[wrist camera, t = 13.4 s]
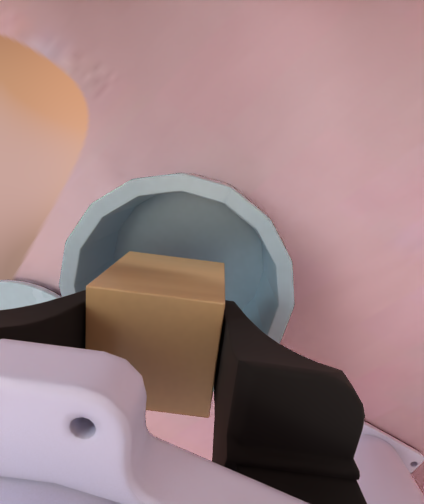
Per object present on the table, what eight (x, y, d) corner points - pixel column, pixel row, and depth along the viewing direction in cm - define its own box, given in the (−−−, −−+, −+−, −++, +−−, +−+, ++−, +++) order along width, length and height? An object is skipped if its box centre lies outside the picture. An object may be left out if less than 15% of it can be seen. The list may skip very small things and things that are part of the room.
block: (213, 347, 14) (209, 418, 10) (125, 335, 14) (84, 402, 10) (224, 262, 13) (225, 303, 9) (129, 250, 13) (85, 285, 9)
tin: (244, 354, 22) (251, 416, 16) (93, 312, 21) (46, 362, 16) (297, 204, 19) (330, 215, 13) (124, 153, 18) (80, 142, 13)
